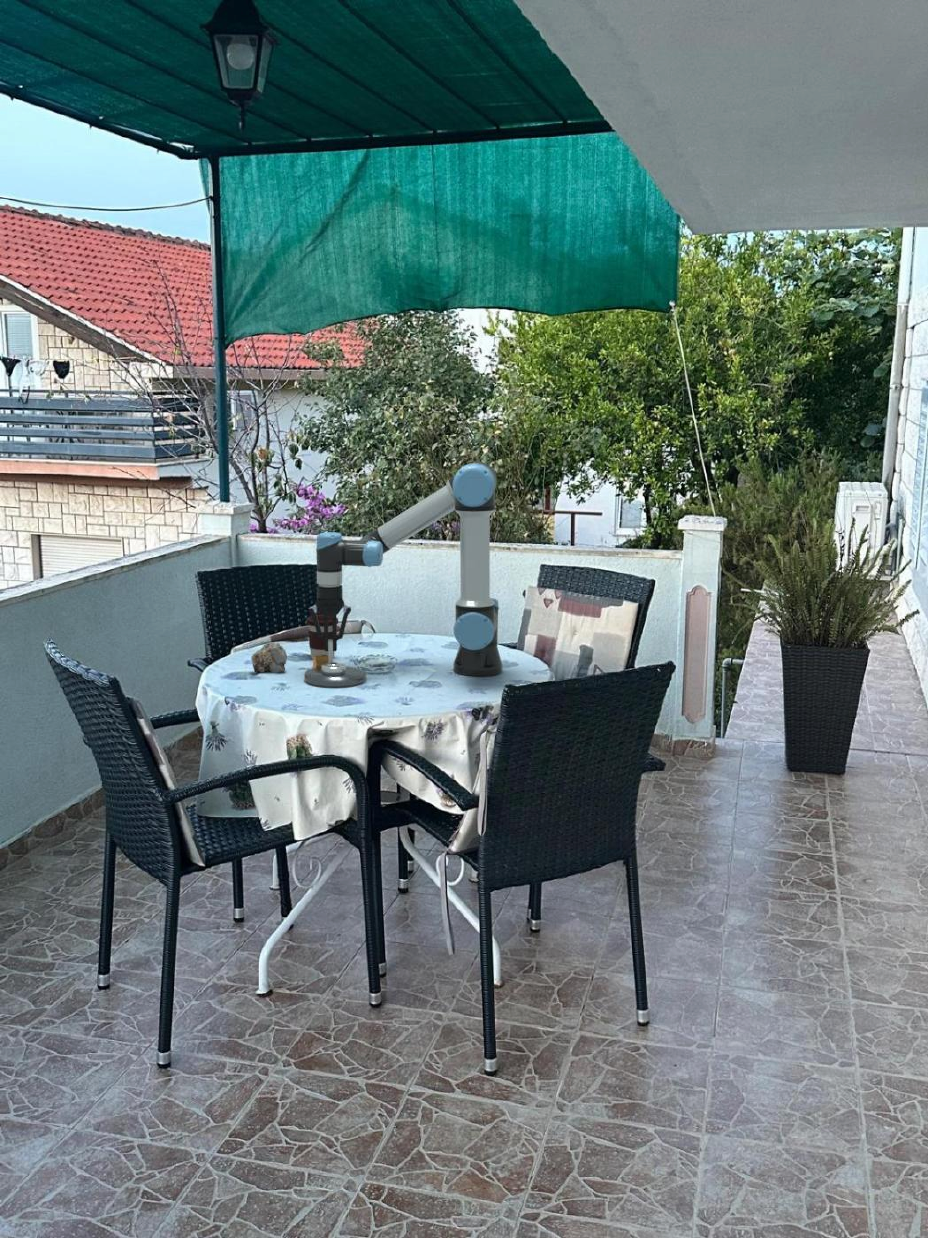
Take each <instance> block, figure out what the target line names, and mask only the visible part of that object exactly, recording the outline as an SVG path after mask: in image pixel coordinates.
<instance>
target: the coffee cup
mask: <svg viewBox="0 0 928 1238" xmlns="http://www.w3.org/2000/svg"><path fill="white" fill-rule="evenodd" d="M316 614H317V618H318V621H319V625H320V629H321V632H322V635H324V615H323V614H322V613H321V612H320V611H317V613H316ZM336 622H337V625H339V618H338V617H336ZM306 624H307V625H308V643H309V644H308V646H309V649H310V657H311V660H313V656H316V655H327V656H328V651H325V650H324V640H322V639H319V638H318V635H317V632H316V628H315V624H314V621H313V617H312V615H311V614H310V616H309V617H307V618H306ZM328 640H333V629H332V616H331V615H329V616H328ZM335 652H336V651H333V659H335Z"/></svg>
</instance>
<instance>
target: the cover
mask: <svg viewBox="0 0 928 1238" xmlns="http://www.w3.org/2000/svg"><path fill="white" fill-rule="evenodd" d="M346 667H347V665H346V664H344V663H340V662H334V661H333V662H331V663H327V664H323V665H322V675H324V676H330V677H337V676H343V675H345V674H346Z"/></svg>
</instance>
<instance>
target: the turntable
mask: <svg viewBox="0 0 928 1238" xmlns="http://www.w3.org/2000/svg"><path fill="white" fill-rule="evenodd" d="M327 663H328V656H327V655H316V656H313V659H312V668H310V669H308V670H306V671H305V672H304V674H303V675H304V679H303V680H304V682H305V683H306V684H307V685H309V686H312V687H317V688H322V689H323V688H326V689H342V688H346V689H347V688H352V687H357V686H360V685H362V684H364V683H366V682H367V673H366V671H365V670H364V669H361V668H358V667H353V666H352V667H351V666H346V674H345V675H343V676H337V677H330V676H324V675H322V665H323V664H327Z"/></svg>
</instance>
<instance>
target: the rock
mask: <svg viewBox="0 0 928 1238" xmlns="http://www.w3.org/2000/svg"><path fill="white" fill-rule="evenodd" d="M250 658H251V660H252V668H253V671H254V673H256V675H259V674H261V673H265V672H266V671H270V672H271V673H277V674H278V673H285V672H286V667H285V665H286V663H287V662H288V661H287V659H288V655H287V652H286V650H285V648H283V646H282V644H280V643H279V642H274V641H273V642H265V644H264V645H263V646H262V647H261V649H259V650H256V652H254V653H253V654H252V655H251V657H250Z"/></svg>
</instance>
